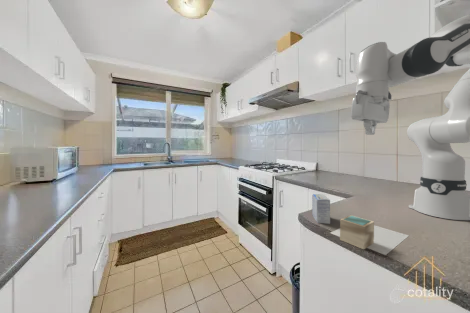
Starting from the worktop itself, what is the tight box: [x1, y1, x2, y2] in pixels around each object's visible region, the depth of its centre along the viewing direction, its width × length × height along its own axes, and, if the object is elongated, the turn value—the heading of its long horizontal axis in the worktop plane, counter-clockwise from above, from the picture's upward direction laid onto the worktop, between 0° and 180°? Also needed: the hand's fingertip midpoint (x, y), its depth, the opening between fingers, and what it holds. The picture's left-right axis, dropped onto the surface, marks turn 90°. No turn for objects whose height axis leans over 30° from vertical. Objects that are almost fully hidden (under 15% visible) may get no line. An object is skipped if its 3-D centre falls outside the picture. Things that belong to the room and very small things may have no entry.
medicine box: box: [311, 193, 331, 225], centre depth 67 cm, size 8×4×9 cm, turn 168°
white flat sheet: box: [330, 224, 409, 256], centre depth 55 cm, size 18×14×1 cm
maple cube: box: [339, 214, 375, 250], centre depth 51 cm, size 6×6×6 cm
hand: (370, 134), depth 62 cm, fingers closed
